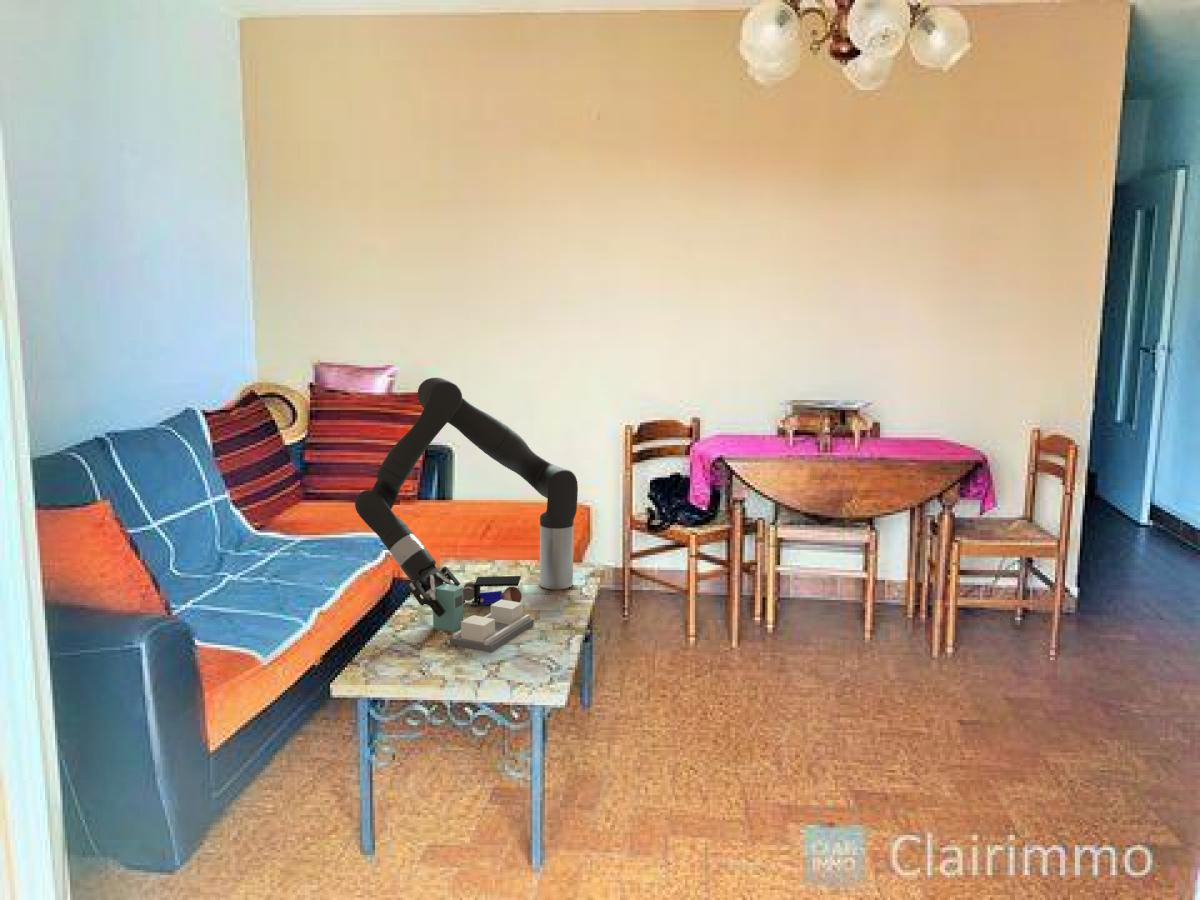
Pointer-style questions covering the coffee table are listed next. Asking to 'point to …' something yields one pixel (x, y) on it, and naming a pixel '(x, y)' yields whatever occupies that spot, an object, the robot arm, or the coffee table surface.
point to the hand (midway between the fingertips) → (452, 609)
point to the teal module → (449, 607)
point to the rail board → (495, 635)
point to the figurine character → (510, 594)
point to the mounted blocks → (491, 620)
